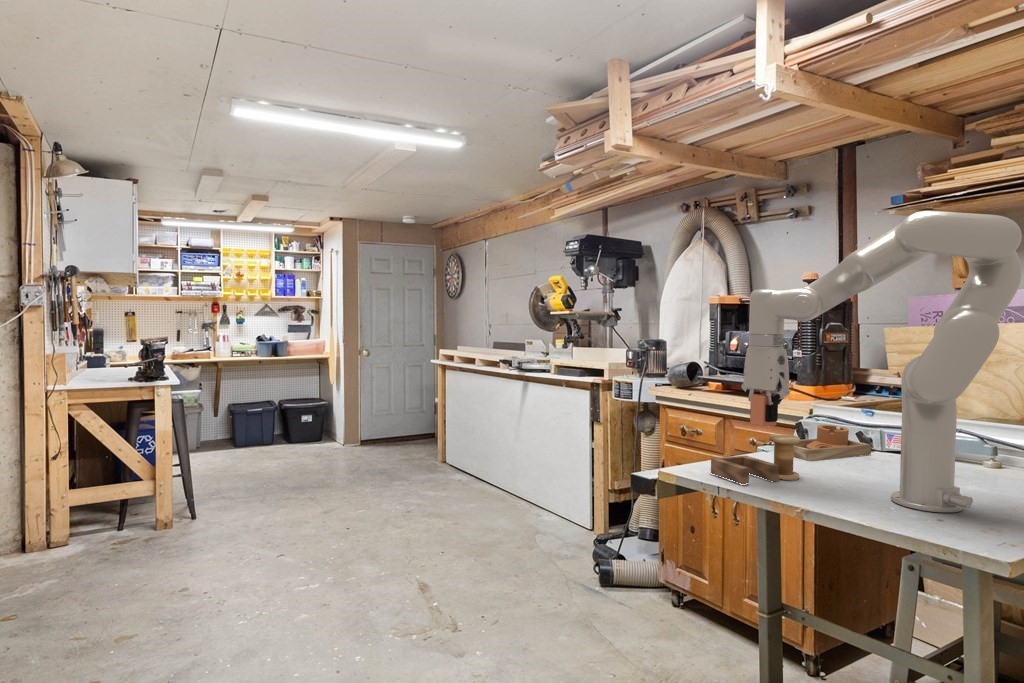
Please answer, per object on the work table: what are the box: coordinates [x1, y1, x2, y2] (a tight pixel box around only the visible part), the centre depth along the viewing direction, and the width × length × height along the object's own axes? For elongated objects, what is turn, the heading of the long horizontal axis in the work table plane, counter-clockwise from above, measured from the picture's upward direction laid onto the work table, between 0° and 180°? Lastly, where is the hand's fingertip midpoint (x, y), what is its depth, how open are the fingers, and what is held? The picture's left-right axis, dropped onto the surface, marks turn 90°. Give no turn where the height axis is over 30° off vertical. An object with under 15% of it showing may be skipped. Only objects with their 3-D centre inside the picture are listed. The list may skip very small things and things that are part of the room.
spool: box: [768, 433, 801, 481], centre depth 151 cm, size 7×7×10 cm
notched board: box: [710, 455, 780, 484], centre depth 150 cm, size 11×11×4 cm
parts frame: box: [793, 438, 872, 462], centre depth 179 cm, size 12×23×3 cm, turn 111°
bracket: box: [806, 424, 850, 449], centre depth 180 cm, size 18×8×7 cm, turn 138°
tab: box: [749, 393, 777, 427], centre depth 144 cm, size 4×4×7 cm
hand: (763, 419), depth 144 cm, fingers closed on tab, 4 cm apart
